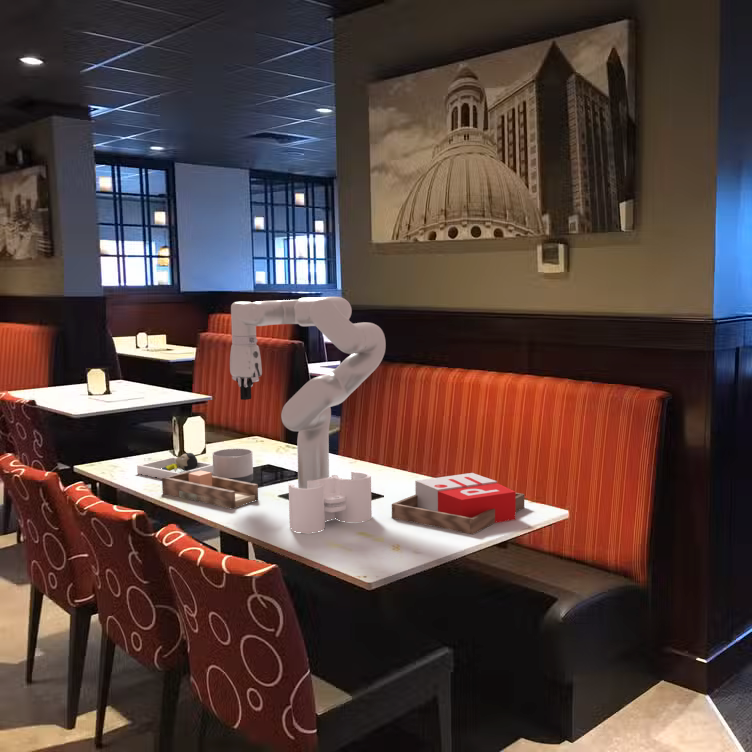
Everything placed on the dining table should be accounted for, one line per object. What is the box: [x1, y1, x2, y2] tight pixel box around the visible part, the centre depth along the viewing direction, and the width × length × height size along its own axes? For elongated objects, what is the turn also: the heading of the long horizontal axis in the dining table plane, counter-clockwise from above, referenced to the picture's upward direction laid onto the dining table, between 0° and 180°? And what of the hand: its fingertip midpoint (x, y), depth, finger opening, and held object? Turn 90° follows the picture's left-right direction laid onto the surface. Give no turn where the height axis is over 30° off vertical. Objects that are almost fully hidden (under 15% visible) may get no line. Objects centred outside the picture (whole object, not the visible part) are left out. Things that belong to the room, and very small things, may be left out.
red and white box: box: [414, 472, 517, 524], centre depth 234 cm, size 24×8×20 cm
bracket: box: [288, 470, 373, 533], centre depth 226 cm, size 25×10×12 cm, turn 130°
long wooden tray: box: [161, 471, 259, 510], centre depth 254 cm, size 31×11×5 cm, turn 54°
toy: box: [162, 452, 198, 472], centre depth 285 cm, size 9×6×15 cm
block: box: [189, 470, 213, 486], centre depth 256 cm, size 5×5×5 cm
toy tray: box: [136, 456, 213, 480], centre depth 285 cm, size 22×16×3 cm
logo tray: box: [391, 492, 525, 535], centre depth 234 cm, size 26×30×4 cm
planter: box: [212, 448, 254, 483], centre depth 270 cm, size 13×13×10 cm
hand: (246, 399), depth 260 cm, fingers closed
